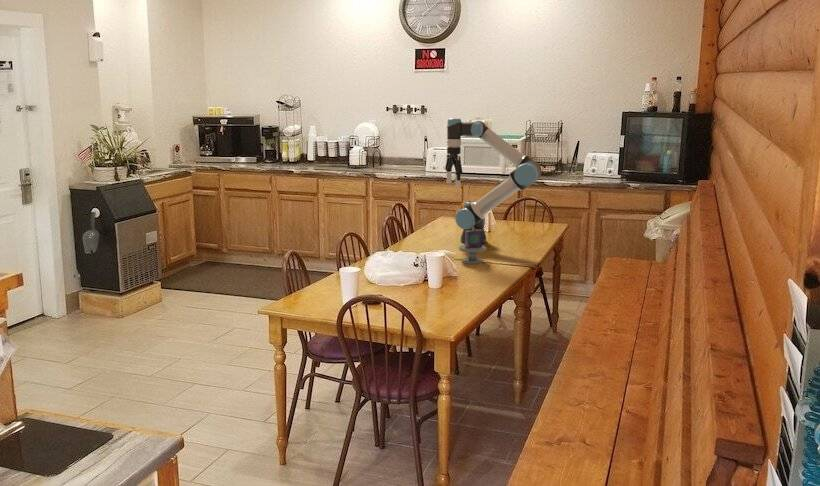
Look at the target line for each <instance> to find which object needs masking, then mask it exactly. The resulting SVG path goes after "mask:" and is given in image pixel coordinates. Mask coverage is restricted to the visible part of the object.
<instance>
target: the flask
mask: <svg viewBox="0 0 820 486" xmlns="http://www.w3.org/2000/svg"><path fill="white" fill-rule="evenodd" d="M464 245H465V248H479V247H480V248H481V247H482V246H483V243H482V230H479V229H475V228H474V227H473V228H472V230H470V231H465V243H464Z"/></svg>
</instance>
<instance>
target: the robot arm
mask: <svg viewBox="0 0 820 486" xmlns="http://www.w3.org/2000/svg"><path fill="white" fill-rule="evenodd" d="M446 128H447V129H446V130H447V131H446V135H447V139H446V146H447V148H446V154H447V155H446V162H445V167H444V170H445V172H446V184H452V177H453V176H452V173H453V170H452V169H453V166H454V170H455V174H454V175H455V187H461V181H462V180H461V179H462V176H461V175H462V174H463V167H462V159H461V155H460V154H461V151H462V149H461V145H462V137H475V138H476V137H477V138H479V139H481V140H482V141H483V142H484V143H486V144H487V145H488V146H489V147H490V148H491V149H493V150H494V151H496V152H497V153H498V154H499V155H501V156H502V157H503V158H504V159H506V160H507V161H508V162H509V163H511V164H512V165H513V166H514V167H515V169H514V170H513V171H511V172H510V173H509V176H508V178H506V179H505V180H504V181H502V182H501V183H499V184H498V185H497V186H496V187H494V188H493V189H491V190H490V191H489V192H487V193H486V194H485V195H483V196H482V197H481V198H479V199H478V200H476V201H470V202H468V201H466V202H464V204H463V207H462V208H461V209H459V210H458V211H457V212H456V214H455V217H454V220H455V223H456V225H457V226H458V227H459V229H462V233H461V235H460V243H463V244H465V231H470V230H472V228H473V227H474V228H475V229H479V230H482V244H485V243H487V235H486V231H485V227H484V226H485V215H486V214H488V213H489V212H490V211H492V210H493V209H494V208H496V207H497V206H498V205H500V204H502V202H504V201H505V200H507V199H508V198H510V197H511V196H512V195H514V194H515V193H517V192H518V191H524V190H526V188H528V187H530V186H531V185H533V184H534V183H535V182H538V180H539V179H540V178H541V176H542V167H541V165H540V164H539V163H538V162H537V161H535V159H533V158H531V157H530V156H529V155H524V154H523V153H522V152H520V151H519V150H518V149H517V148H516V147H514V146H513V145H511V144H510V143H509V142H507V141H506V140H505V139H504V138H502V137H501V136H500V135H498V134H497V133H496V132H495V131H493V130H492V129H491V128H489V127H488V126H487V124H486V123H485V122H484V121H481V120H476V121H472V122H471V121H469V122H466V121H465V122H464V121H463V122H462V118H455V117H453V118H452V117H451V118H448V119H447V125H446Z"/></svg>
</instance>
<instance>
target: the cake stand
mask: <svg viewBox="0 0 820 486" xmlns="http://www.w3.org/2000/svg"><path fill="white" fill-rule="evenodd" d="M458 250H459V251H460V252H464V253H467V257H463V258H461V263H463V264H465V265H467V264H468V265H479V264H482V263H483V262H484V259H483V258H481V257H477V255H478V254H477V253H483V252H486V251H487V247H486V246H485V245H482V247H481V248H480V247H479V248H465V244H462V245H460V246H458Z"/></svg>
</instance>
